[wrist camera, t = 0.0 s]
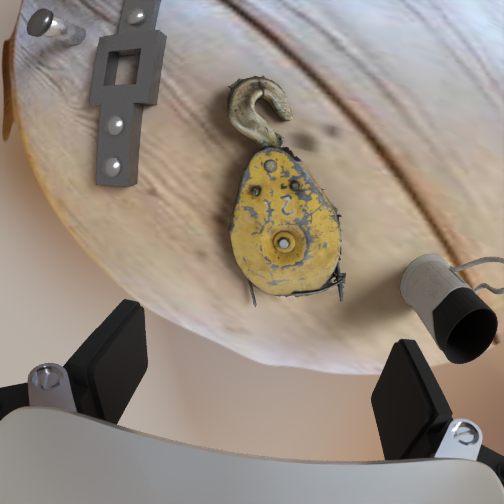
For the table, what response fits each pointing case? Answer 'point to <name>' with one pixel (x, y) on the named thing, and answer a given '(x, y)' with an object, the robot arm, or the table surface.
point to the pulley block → (280, 206)
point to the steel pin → (54, 27)
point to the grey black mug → (450, 306)
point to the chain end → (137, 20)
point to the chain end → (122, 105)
